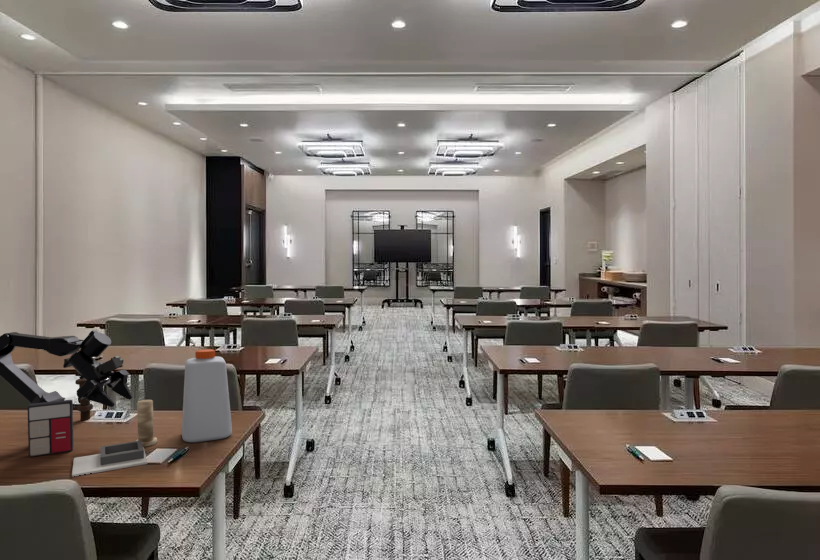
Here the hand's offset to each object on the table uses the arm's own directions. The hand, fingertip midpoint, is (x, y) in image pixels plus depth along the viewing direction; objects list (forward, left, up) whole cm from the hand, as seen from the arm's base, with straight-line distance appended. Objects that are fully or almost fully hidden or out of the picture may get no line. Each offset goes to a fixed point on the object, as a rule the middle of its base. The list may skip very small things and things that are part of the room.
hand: (122, 402), depth 169 cm
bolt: (-11, +39, -13) cm, 43 cm away
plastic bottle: (+24, -5, -13) cm, 28 cm away
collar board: (-4, -17, -13) cm, 22 cm away
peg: (+6, -4, -13) cm, 15 cm away
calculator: (-19, +2, -13) cm, 23 cm away
